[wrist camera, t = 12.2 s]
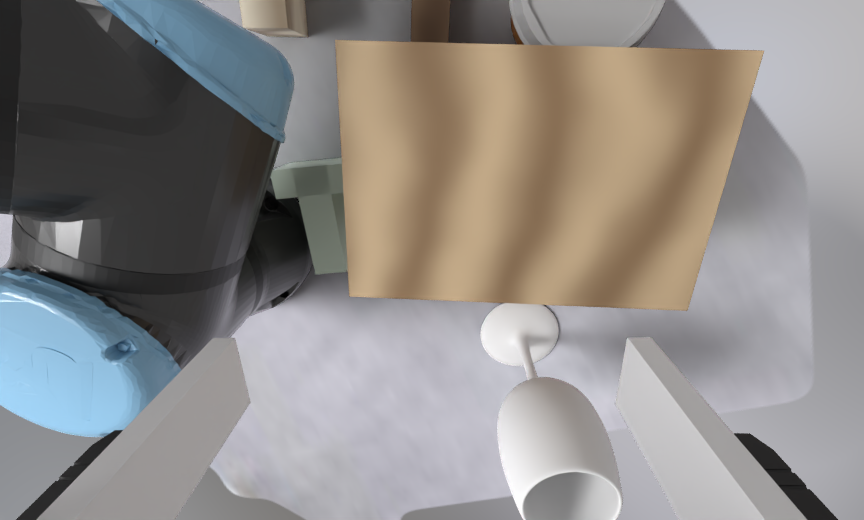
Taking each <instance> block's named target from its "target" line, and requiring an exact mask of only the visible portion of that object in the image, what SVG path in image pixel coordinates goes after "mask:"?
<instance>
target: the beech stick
mask: <svg viewBox="0 0 864 520" xmlns="http://www.w3.org/2000/svg"><path fill="white" fill-rule="evenodd" d="M239 3H240V10H241V17H242V25H243V28H245V29H248V30H251V31H254V32H257V33H260V34H263V35H266V36H269V37H308V29H307V17H306V6H305V0H239Z"/></svg>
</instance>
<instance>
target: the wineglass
mask: <svg viewBox="0 0 864 520" xmlns="http://www.w3.org/2000/svg"><path fill="white" fill-rule="evenodd" d="M558 334H559V328H558V323H557V320H556V318H555V316H554V315H553V313H552V312H551V311H550V310H549V309H548V308H547V307H545V306H544V305H539V304H515V303H503V304H501V305H499V306H497V307H496V308H494V309H493V310H492V311H491V312H490V313H489V314H488V315H487V317H486V318H485V320H484V322H483V324H482V327H481V342H482V345H483V347H484V349H485V351H486V352H487V353H488V354H489V355H490V356H491V357H492V358H493V359H495V360H496V361H498V362H500V363H503V364H506V365H510V366H524V368H525V371H526V376H527V380H526V381H524V382H522V383H520V384H519V385H517V386H516V387H515V388H514V389H513V390H512V391H511V392H510V393H509V394H508V395H507V396H506V398H505V400H504V401H503V403H502V405H501V408H500V411H499V415H498V423H497V434H498V445H499V452H500V457H501V462H502V466H503V470H504V473H505V476H506V479H507V482H508V485H509V488H510V490H511V493H512V496H513V498H514V500H515V503H516V505H517V508H518V510H519V512H520V514H521V516H522V518H523V520H616V519H617V518H618V516H619V514H620V512H621V509H622V505H623V497H622V489H621V483H620V477H619V472H618V468H617V463H616V459H615V456H614V452H613V449H612V446H611V442H610V440H609V437H608V434H607V432H606V430H605V427H604V425H603V423H602V421H601V419H600V417H599V415H598V414H597V412H596V410H595V409H594V407H593V405H592V404H591V403H590V401H589V400H588V399H587V398H586V396H585V395H584V394H583V393H582V392H581V391H579V390H578V389H577V388H575V387H574V386H572V385H571V384H569V383H567V382H564V381H562V380H559V379H555V378H550V377H538V376H537V373H536V371H535V368H534V365H533V363H535V362H537V361H539V360H541V359H543V358H544V357H545V356H547V355H548V354H549V353H550V352H551V350H552V349H553V348H554V346H555V344H556V342H557V339H558Z"/></svg>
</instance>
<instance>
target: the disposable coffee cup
mask: <svg viewBox="0 0 864 520" xmlns="http://www.w3.org/2000/svg"><path fill="white" fill-rule="evenodd" d="M665 1H666V0H509V7H510V12H511V30H512V33H513V37H514V39H515V41H516V43H517V45H555V46H596V47H637V46H638V45H639V44H640V43H641V42H642V40H643V39H644V38H645V37H646V35H647V34H648V33H649V32H650V30H651V29H652V27H653V26H654V24H655V22H656V21H657V19H658V17H659V15H660V13H661V10H662V8H663V6H664V3H665Z"/></svg>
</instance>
